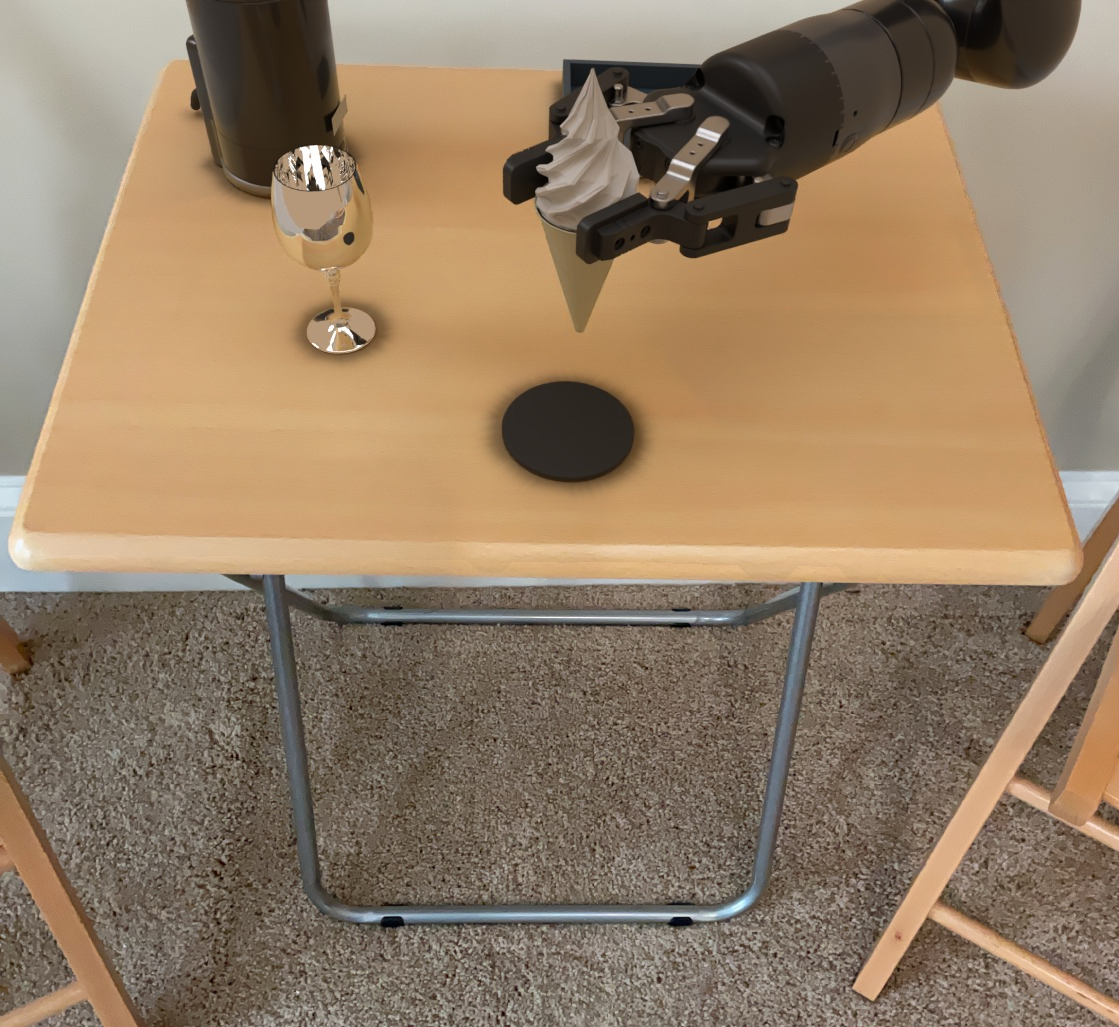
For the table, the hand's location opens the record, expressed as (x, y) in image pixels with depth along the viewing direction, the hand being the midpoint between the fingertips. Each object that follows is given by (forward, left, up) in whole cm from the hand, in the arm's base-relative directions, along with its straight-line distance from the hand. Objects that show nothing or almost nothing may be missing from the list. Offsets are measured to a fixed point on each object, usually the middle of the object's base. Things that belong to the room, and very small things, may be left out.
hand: (544, 213), depth 49 cm
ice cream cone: (+1, +3, -9) cm, 9 cm away
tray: (-10, +35, -17) cm, 40 cm away
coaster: (+1, +2, -17) cm, 17 cm away
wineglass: (-16, +2, -17) cm, 23 cm away
